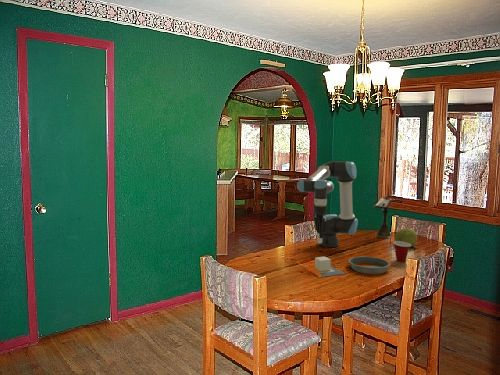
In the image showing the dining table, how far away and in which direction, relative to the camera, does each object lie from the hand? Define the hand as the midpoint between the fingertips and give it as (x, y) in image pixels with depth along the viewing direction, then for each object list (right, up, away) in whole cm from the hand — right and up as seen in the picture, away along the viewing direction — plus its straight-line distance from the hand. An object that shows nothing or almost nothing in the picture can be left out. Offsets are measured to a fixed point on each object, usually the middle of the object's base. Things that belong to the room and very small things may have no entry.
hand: (319, 242), depth 260 cm
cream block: (+1, -9, -3) cm, 10 cm away
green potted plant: (+73, -10, +55) cm, 92 cm away
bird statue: (+65, -7, +82) cm, 105 cm away
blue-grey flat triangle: (-1, -16, +4) cm, 16 cm away
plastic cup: (+57, -14, +18) cm, 61 cm away
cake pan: (+31, -17, +2) cm, 35 cm away
